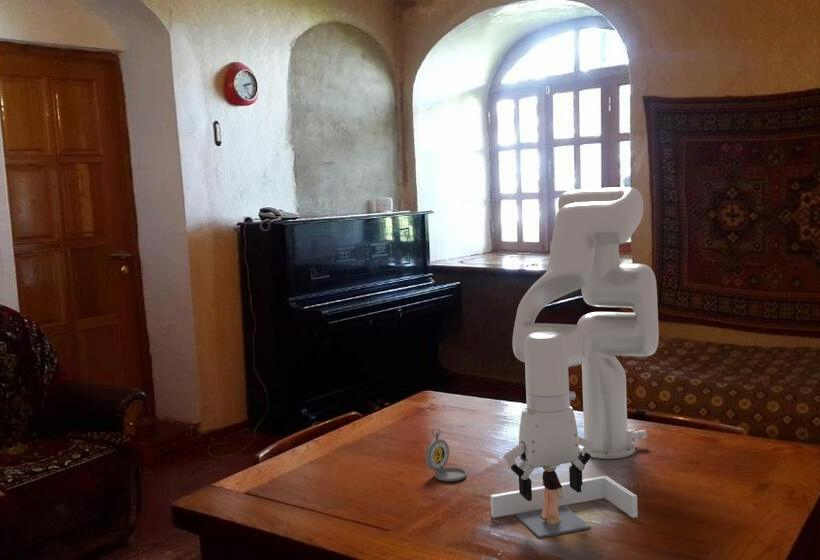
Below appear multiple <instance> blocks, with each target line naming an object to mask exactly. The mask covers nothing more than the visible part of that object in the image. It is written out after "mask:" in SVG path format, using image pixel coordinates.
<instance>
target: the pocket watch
mask: <svg viewBox="0 0 820 560" xmlns="http://www.w3.org/2000/svg"><path fill="white" fill-rule="evenodd" d="M436 430H438V432H436V433H435V434H434V431H436ZM431 435H432V436H433V437H435V439H434V440H433V441H431V443H429V444H428V446H427V448H426V453H425V462H426V465H427V467H428V468H429V469H431V470H432V471H435V473H434V477H435V478H436V479H437V480H440V481H443V482H456V481H457V482H458V481H460V480H463V479H465V478H466V476H467V471H466V470H465V469H464V468H461V467H445V466H446V464H447V463H448V460H449V457H450V446H449V445H448V443H447V441H446V440H444V439H441V438H439V437H440V435H441V429H440V428H438V427H437V428H436V427H435V428H433V429H432V431H431ZM444 467H445V468H444Z"/></svg>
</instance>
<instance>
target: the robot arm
mask: <svg viewBox="0 0 820 560" xmlns="http://www.w3.org/2000/svg"><path fill="white" fill-rule="evenodd" d="M557 205H558V210H557V212H556V216H555V219H554V220H555V221H554V227H553V231H552V238H551V244H550V253H549V258H548V263H547V269H546V272H545V273H544V274H543V275H542V276H541V277H539V278H538V279H537V280H536V281H535V282H534V283H533V284H532V285H531V286H530V288H528V290H527V292H525V294H524V296H523V297H522V299H521V300H520V302H519V304H518V307H517V310H516V315H515V316H516V317H515V321H514V326H513V330H512V331H513V332H512V351H513V354H514V356H515V358H516V359H518V361H520V362H522V363H524V366H525V367H524V370H525V371H524V372H525V373H524V374H525V391H526V392H525V394H526V396H525V397H526V398H525V399H526V400H525V401H526V408H523V409H522V410H521V411H522V412H521V416H520V423H519V430H518V431H519V432H518V433H519V434H518V445H516V446H515V447H513V448H512V449H511V450H509V451H507V453H505V454H504V455H503V459H504V461H505V463H506V464H507V466H508V468H509V469H510V471H512V472H513V473H514V474H516V475H517V477H518V490H519V492H520V494H521V495H522V497H524V498H525V499H526V500H527V501H531V500H532V488H533V487H532V479H531V478H529V476H531V474H532V473H533V471H534V469H535V468H536V469H538V468H543V467H546V466H552V465H558V464H560V465H564V464H571V465H570V466H569V468H568V471H569V472H568V475H569V477H568V478H569V482H570V487H571V488H572V489H573V490H575V491H576V492H581V485H582V480H583V471H585V469H586V467H585V466H586V465H587V464H588V462H589V461H590V459H591V458H593V459H601V460H603V459H604V460H616V459H621V458H622V459H623V458H626V457H629V456H632V455H633V454H634V453H635V452H636V446H635V444H634V443H633V442H635V441H636V440H642V439H647V437H648V431H647V430H646V429H641V430H640V429H639V430H636V429H635V428H628V409H627V403H628V401H627V374H626V371H625V369H624V367H623V365H622V363H620V361H619V359H618V358H617V357H618V356H621V357H625V356H626V357H649V356H652V355H654V354H655V353H656V351H657V349H658V346H659V338H660V337H659V336H660V334H659V330H660V329H659V312H658V311H659V309H658V289H657V288H658V287H657V279H656V275H655V273H654V271H653V269H652V268H651V266H649V265H647V264H644V263H622V262H621V259H620V247H619V246H620V245H621V244H625V243H626V242H627V241H628V240H630V238H631V237H632V235H634V232H635V231H636V230H637V228H638V226H639V225H640V223H641V221H642V219H643V215H644V209H645V208H644V200H643V197H642V194H641V192H640V191H639V190H638V189H637V188H635V187H632V186H621V187H618V186H617V187H595V188H594V187H592V188H578V189H573V190H572V189H571V190H567V191H566V192H563V193H561V195H560V196H559V198H558V203H557ZM580 289H581V295H582V299H583V301H584V302H585V303H586V304H587V305H589V306H592V307H598V308H601V307H602V308H628V309H632V310H633V312H629V311H628V312H627V311H625V312H624V311H623V312H619V311H593V312H592V311H591V312H589V313H586V314H584V315H583V314H582V316H581V317H580V318H579V319H578V321H577V324H566V323H565V324H564V323H563V324H562V323H542V322H541V323H540V322H538V323H537V322H536V323H535V321H536V318H537V317H538V315H539V313H540V312H541V311H542V310H543V309H544V307H546V306H547V305H548V304H550V303H551V302H553V301H555V300H557V299H559V298H561V297H564V296H566V295H568V294H571V293H573V292H576V291H578V290H580ZM616 356H617V357H616ZM579 365H581V372H582V373H581V375H582V376H581V379H582V410H583V411H582V412H583V438H582V437H580V436H579V434H578V425H577V420H576V416H575V412H574V409H573V407H572V406H571V401H572V400H575V399H576V398H577V395H576V392H575V391H570V381H569V368H571V367H576V366H579ZM518 457H519V460H520V461H521V463H519V465H518V464H517V463H516V459H517V458H518Z"/></svg>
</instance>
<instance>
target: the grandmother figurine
mask: <svg viewBox="0 0 820 560" xmlns="http://www.w3.org/2000/svg"><path fill="white" fill-rule="evenodd" d="M560 465H561V464H558V465H552V466H546V467H542V469H543V472H542V478H541V479H542V483H541V484H542V486H545V489H544V498H543V509H541V510H542V513H541V518H544V519H547V520H546V522H547V523H548V524H556V523H560V522H561V519H560V518H559V512H558V507H559V506H558V498H559V499H561V498H563V494H562V486H561V484H560V483H561V482H560V479H559V477H558V474H557V471H556V469H557V467H560ZM557 497H558V498H557Z"/></svg>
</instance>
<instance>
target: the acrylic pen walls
mask: <svg viewBox="0 0 820 560" xmlns="http://www.w3.org/2000/svg"><path fill="white" fill-rule="evenodd" d="M560 484H561V486H562V494H563V498H561V499H559V498H558V497H557V498H558V507H559V506H568V505H573V504H579V503H585V502H589V501H596V500H601V499H605V500H607V501H608V502H609V503H611V504H612V505H614V506H615V507H617V508H618V509H620V510H621V511H622V512H624V513H625V514H627V515H628V516H629V517H631V518H632V519H633V518H638V517H639V516H638V495H636V494H635V493H634V492H632V491H630V490H629V489H627V488H626V487H624V486H623V485H622V484H619V483H618V482H617V481H615V480H614V479H612V478H611V477H609V476H607V475H602V476H596V477H595V476H594V477H589V478H584V479H583V478H582V485H581V492H576V491H575V490H573V489H572V488H571V487H570V481H567V482H562V483H561V482H560ZM544 489H545V486H543V485H542V486H537V487H532V500H531V501H527V500H526V499H525V498H524V497H522V495H521V494H520V492H519V489H518V490H512V491H505V492H501V493H495V494H490V510H491V511H490V512H491V514H490V515H491V517H492V518H493V519H494V518H499V517H505V516H512V515H516V514H520V513H525V512H531V511H536V510H542V509H543V498H544Z"/></svg>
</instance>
